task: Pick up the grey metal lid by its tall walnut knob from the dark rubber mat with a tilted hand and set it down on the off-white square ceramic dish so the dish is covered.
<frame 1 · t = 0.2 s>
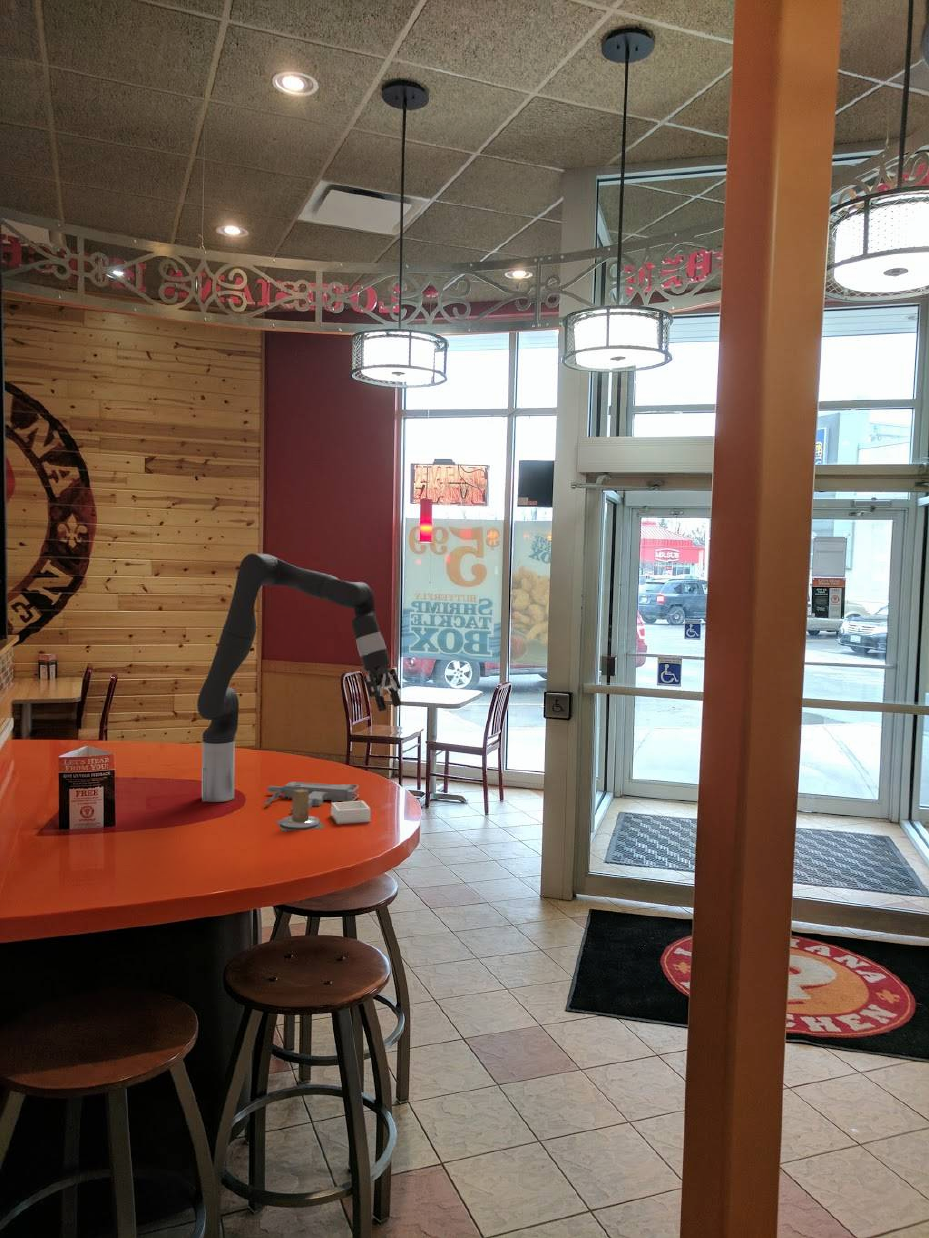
hand: (390, 708, 245), 31 cm above the table, tool tilted 20°, fingers open, 8 cm apart
mat: (300, 825, 240), on the table
submachine gun: (302, 805, 263), on the table
lid: (300, 823, 240), resting on mat
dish: (350, 819, 246), on the table
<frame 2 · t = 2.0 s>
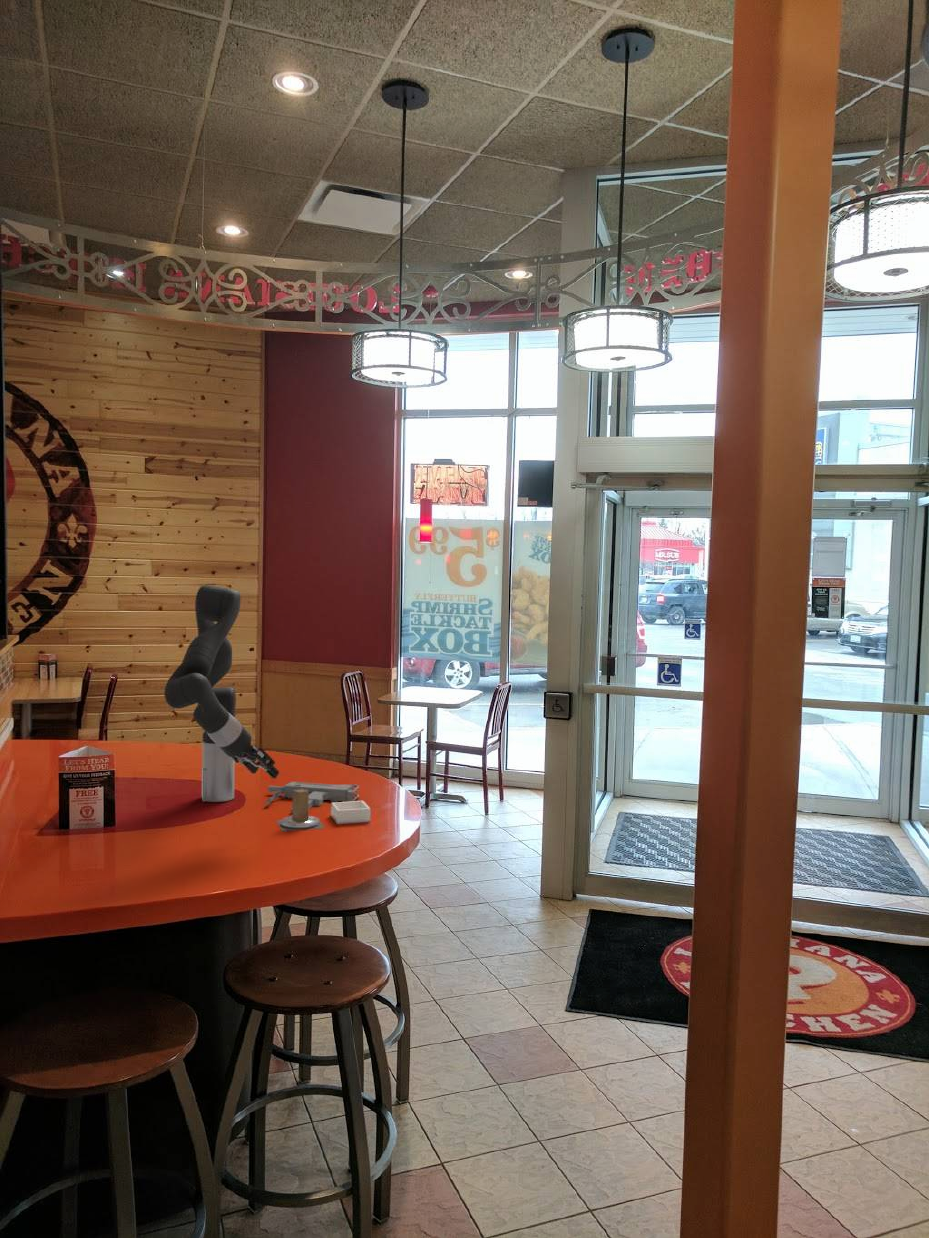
hand: (265, 773, 230), 16 cm above the table, tool tilted 45°, fingers open, 8 cm apart
nothing on the table moved.
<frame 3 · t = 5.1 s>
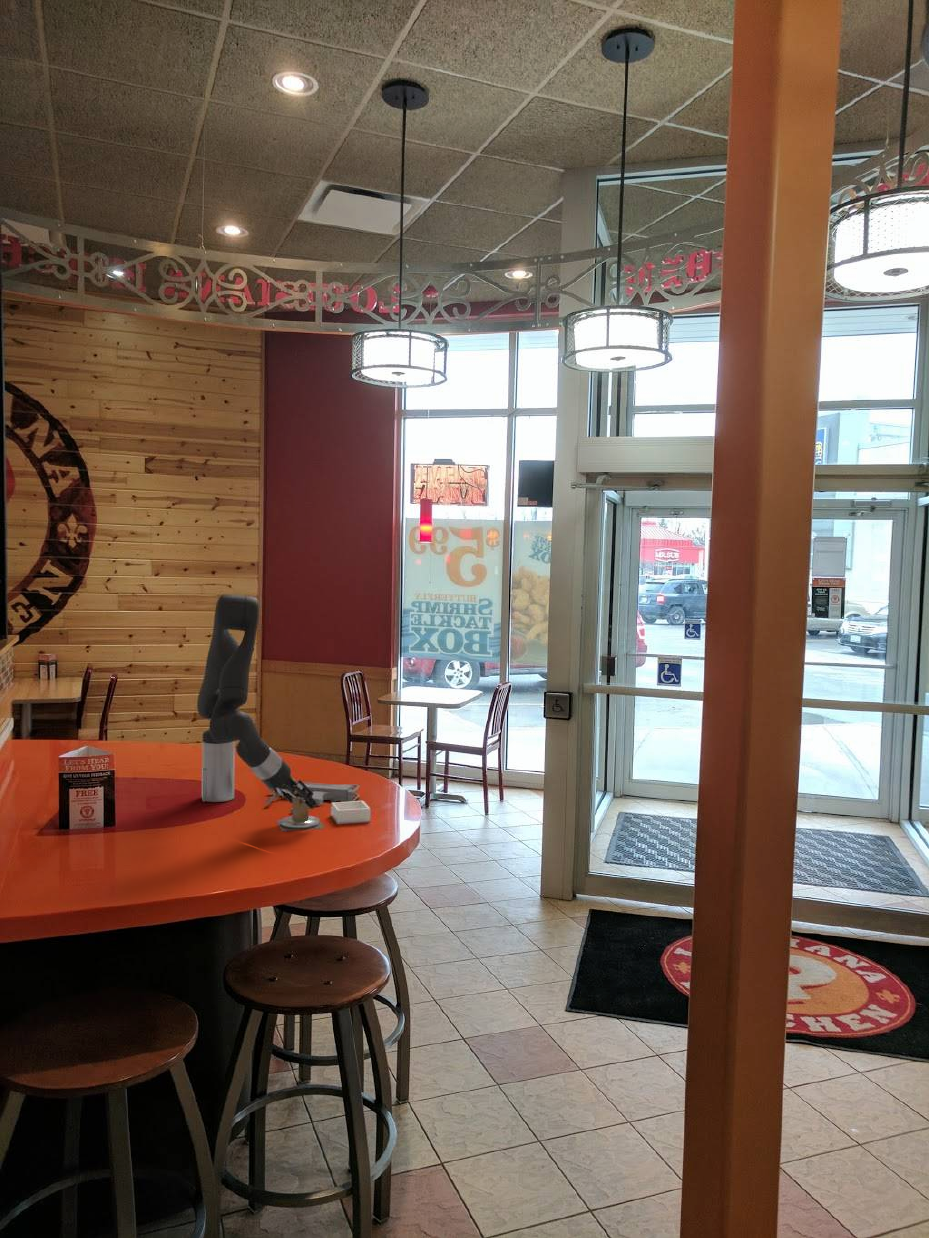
hand: (303, 803, 240), 6 cm above the table, tool tilted 45°, fingers open, 8 cm apart
nothing on the table moved.
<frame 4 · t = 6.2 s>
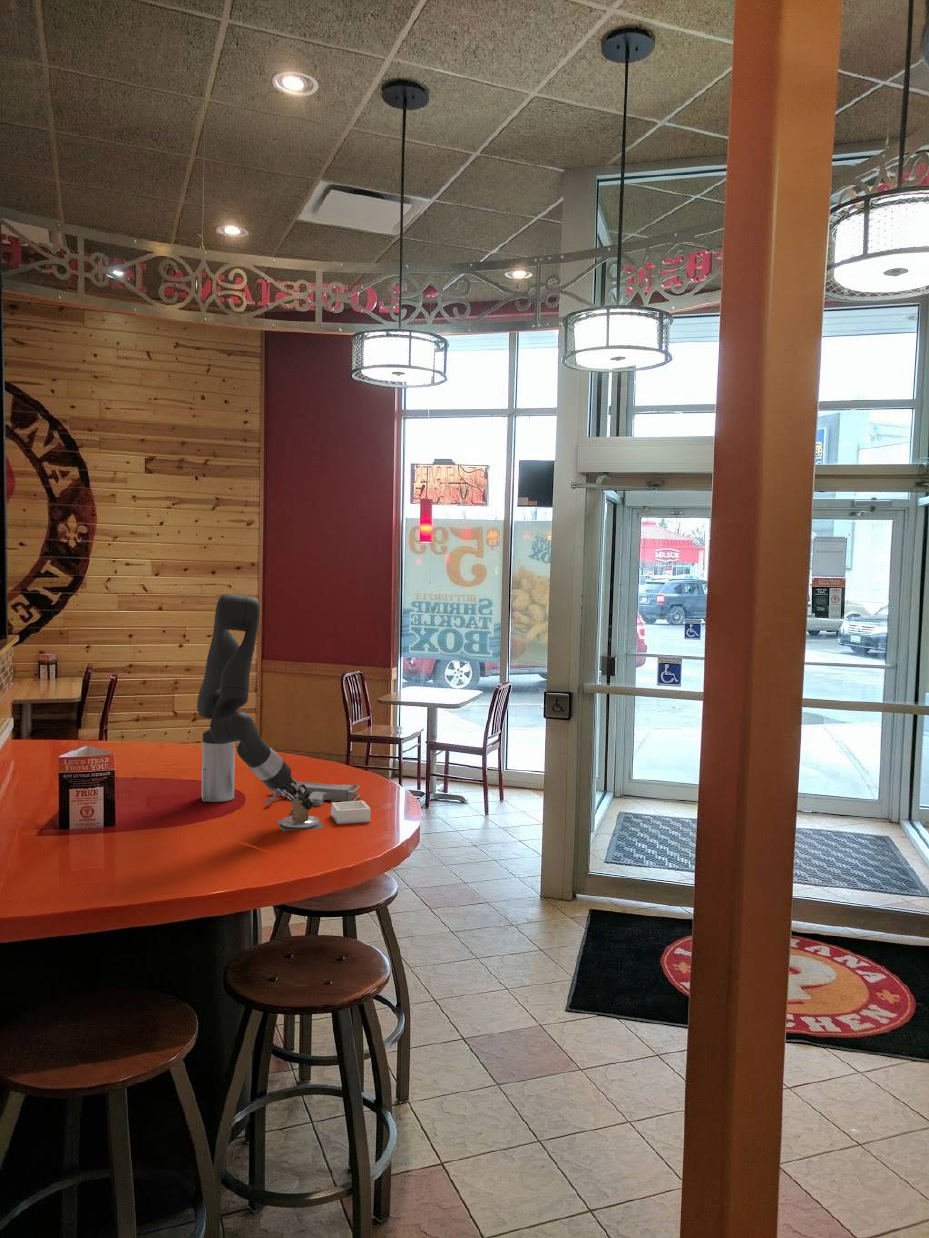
hand: (306, 805, 241), 5 cm above the table, tool tilted 45°, fingers closed on lid, 3 cm apart
lid: (300, 823, 240), resting on mat, touching gripper
everything else where it was.
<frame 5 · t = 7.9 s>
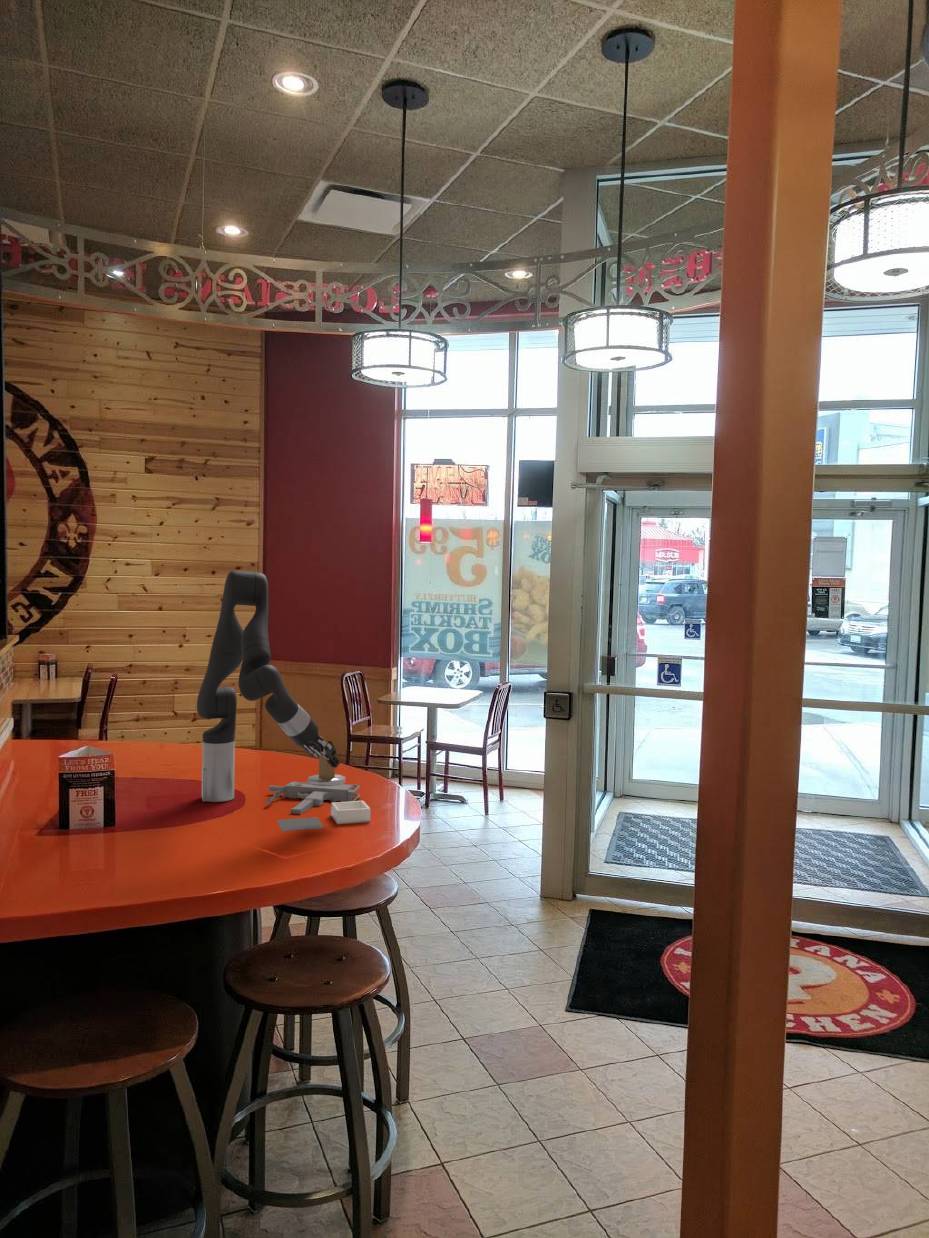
hand: (332, 763, 243), 16 cm above the table, tool tilted 45°, fingers closed on lid, 3 cm apart
lid: (326, 781, 242), point 11 cm above the table, touching gripper
everything else where it was.
when the fingers open (10 cm above the table, at t = 9.7 s): lid drops 1 cm, resting on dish.
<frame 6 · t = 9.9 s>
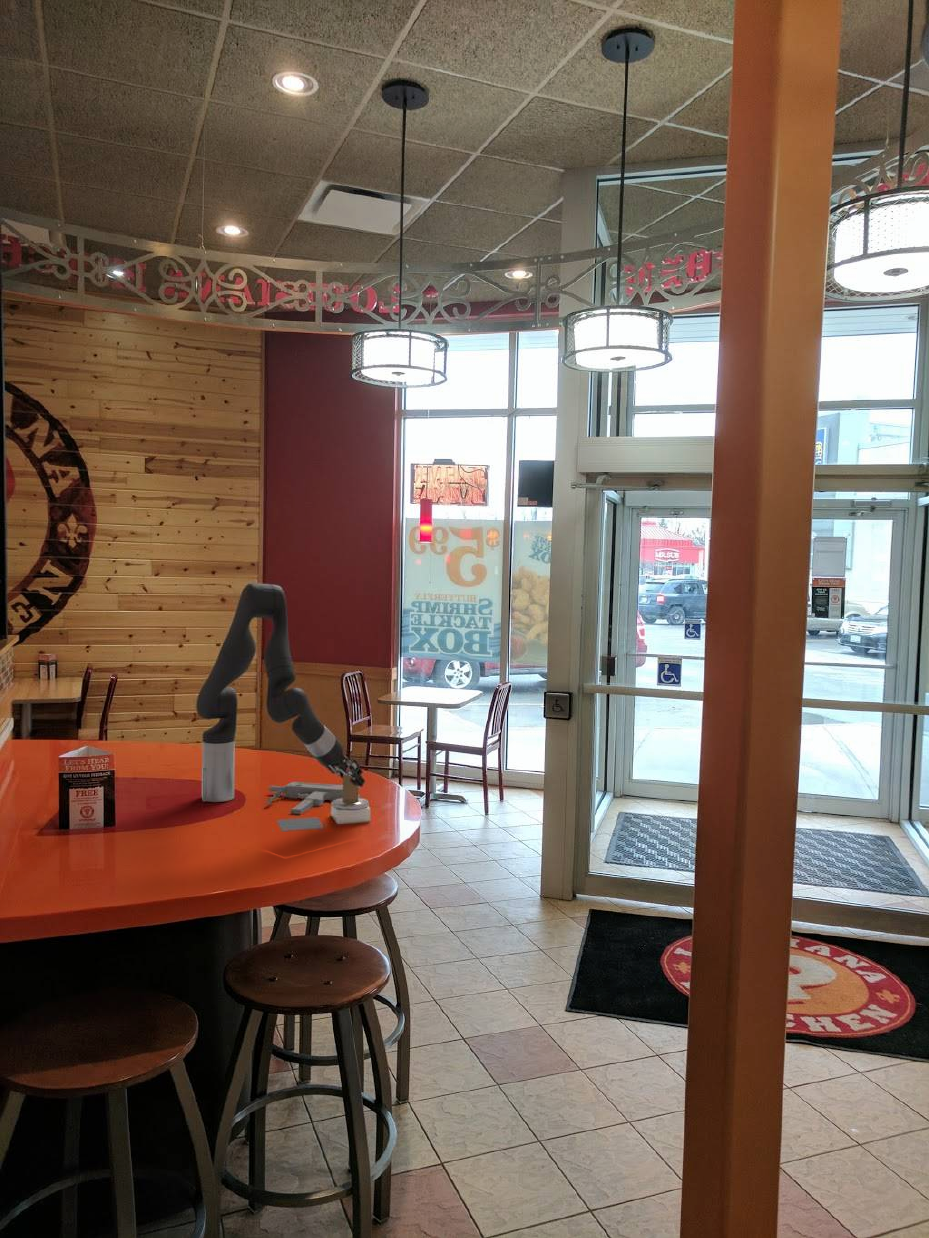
hand: (356, 782, 247), 10 cm above the table, tool tilted 45°, fingers open, 4 cm apart
lid: (350, 805, 246), point 4 cm above the table, touching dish
everything else where it was.
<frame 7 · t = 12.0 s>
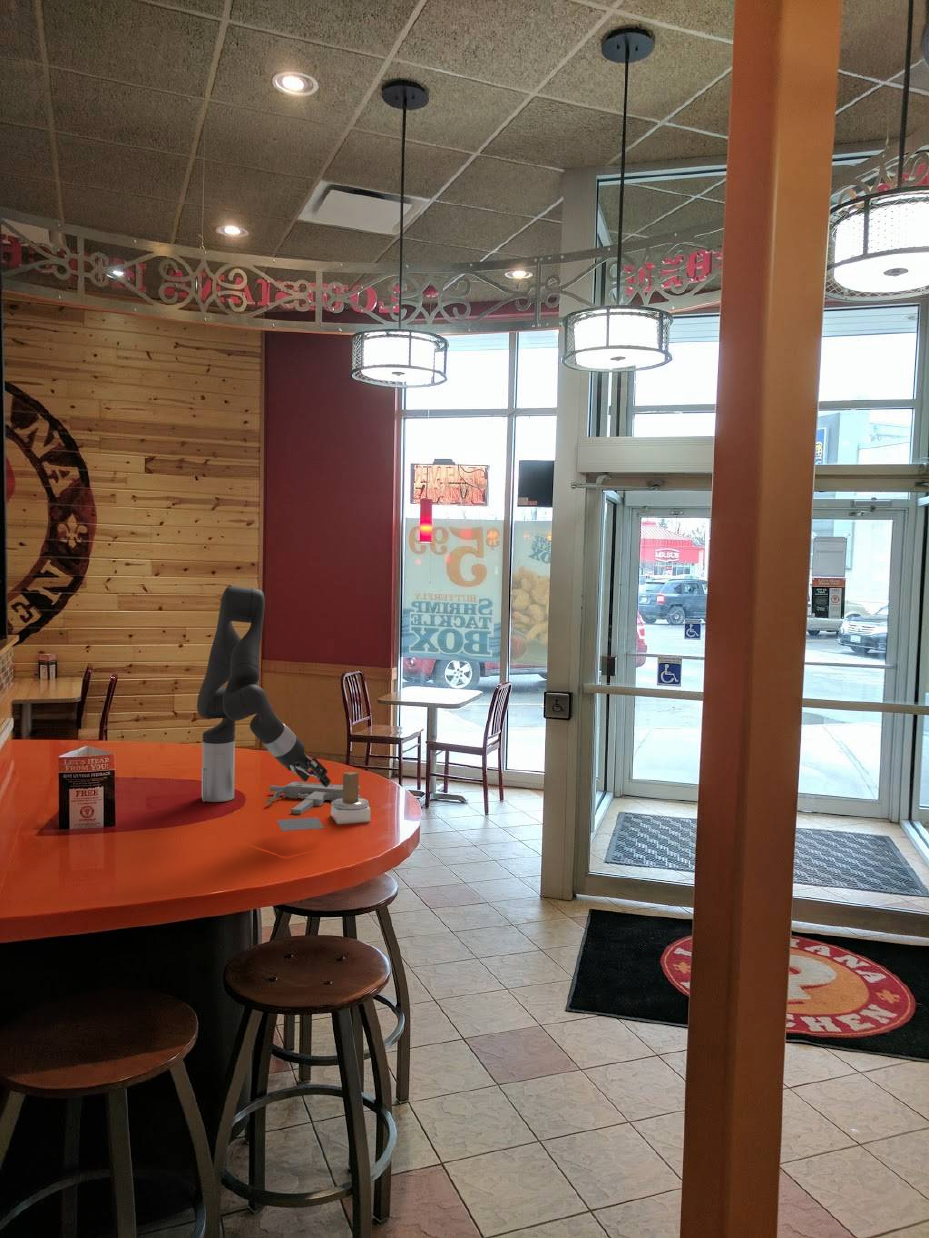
hand: (317, 781, 237), 13 cm above the table, tool tilted 45°, fingers open, 8 cm apart
nothing on the table moved.
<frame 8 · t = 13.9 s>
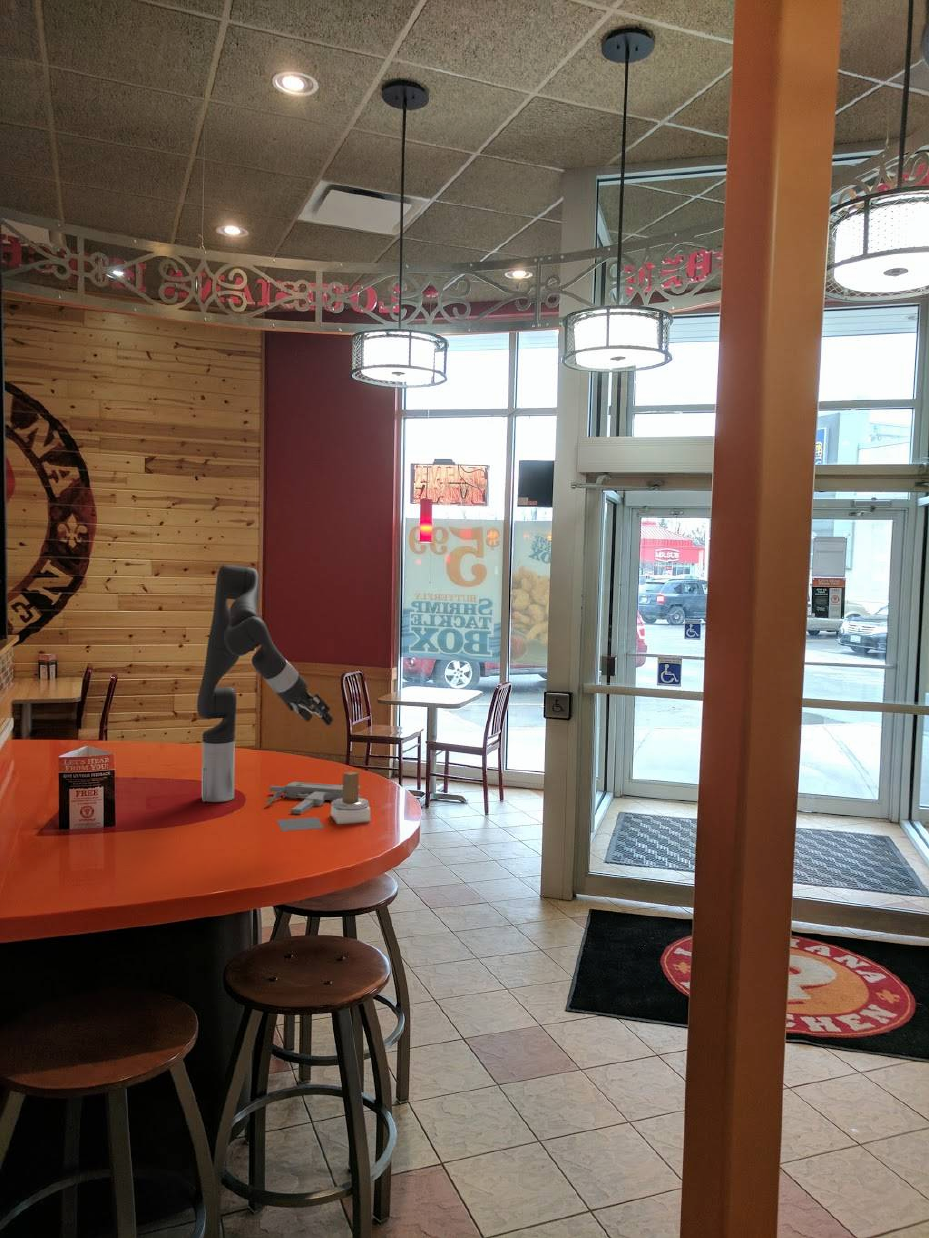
hand: (319, 720, 236), 29 cm above the table, tool tilted 45°, fingers open, 8 cm apart
nothing on the table moved.
at the end: lid 0.1 cm off-centre on the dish, point 4.0 cm above the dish's base; lid tilted 0°; the gripper is holding nothing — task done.
